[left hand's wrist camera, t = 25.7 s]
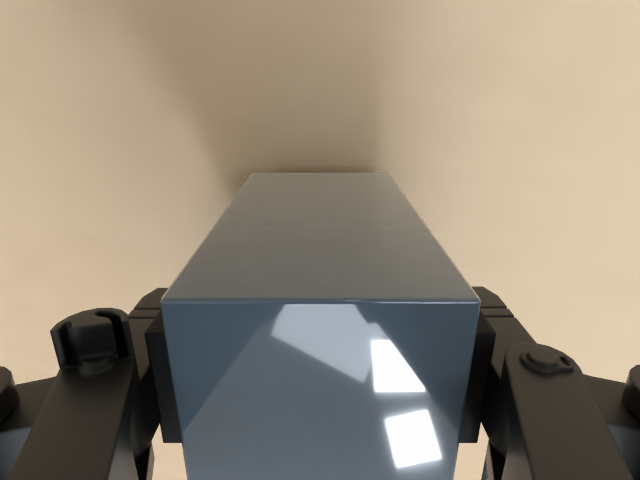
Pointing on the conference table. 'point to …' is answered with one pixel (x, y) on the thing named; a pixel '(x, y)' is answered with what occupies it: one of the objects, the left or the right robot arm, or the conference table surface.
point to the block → (320, 336)
